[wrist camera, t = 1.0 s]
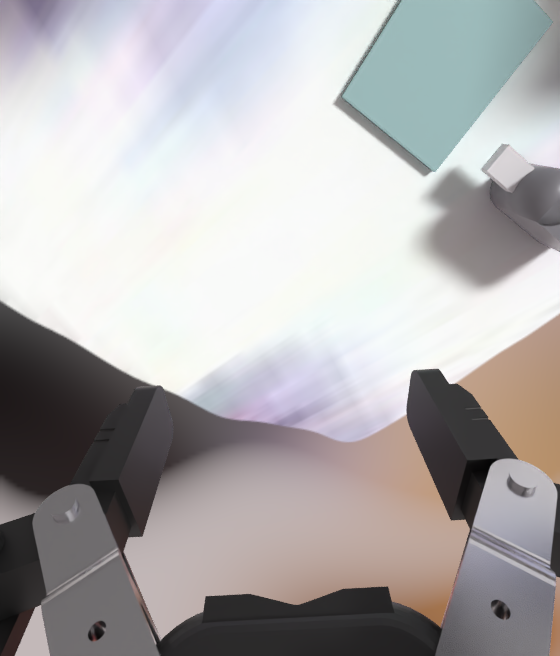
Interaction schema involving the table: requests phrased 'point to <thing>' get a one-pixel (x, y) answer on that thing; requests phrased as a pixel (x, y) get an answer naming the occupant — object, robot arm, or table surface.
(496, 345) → the table surface
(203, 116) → the table surface
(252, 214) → the table surface
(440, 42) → the teal rubber mat
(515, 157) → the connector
